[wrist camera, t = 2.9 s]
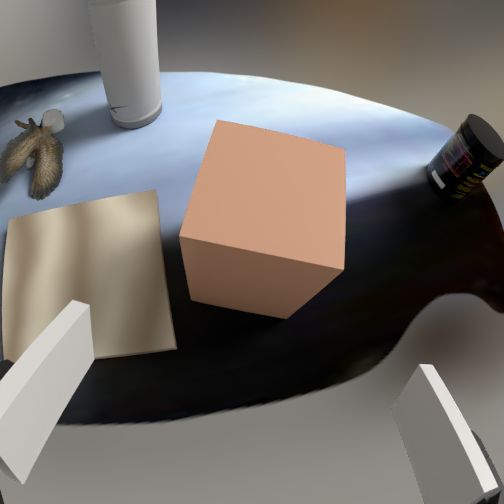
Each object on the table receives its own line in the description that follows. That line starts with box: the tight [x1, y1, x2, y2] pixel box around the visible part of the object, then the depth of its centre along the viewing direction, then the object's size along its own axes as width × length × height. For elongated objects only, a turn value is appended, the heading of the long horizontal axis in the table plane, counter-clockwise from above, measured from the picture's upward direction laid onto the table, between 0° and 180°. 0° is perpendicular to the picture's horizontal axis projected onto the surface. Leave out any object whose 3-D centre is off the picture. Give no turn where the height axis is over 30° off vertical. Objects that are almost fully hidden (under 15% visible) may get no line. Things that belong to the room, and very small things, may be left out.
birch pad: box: [2, 190, 177, 363], centre depth 24 cm, size 16×14×2 cm
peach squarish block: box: [179, 120, 346, 319], centre depth 22 cm, size 8×8×12 cm
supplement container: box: [427, 114, 504, 202], centre depth 31 cm, size 7×7×10 cm
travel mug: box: [88, 0, 162, 128], centre depth 24 cm, size 6×7×20 cm
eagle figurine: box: [0, 109, 64, 200], centre depth 26 cm, size 8×7×9 cm
